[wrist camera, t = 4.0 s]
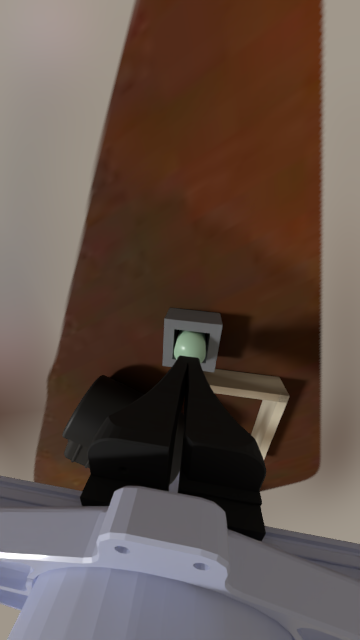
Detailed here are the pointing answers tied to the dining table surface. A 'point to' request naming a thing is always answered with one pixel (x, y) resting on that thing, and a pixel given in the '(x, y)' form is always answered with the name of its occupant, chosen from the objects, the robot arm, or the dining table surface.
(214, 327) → the button housing
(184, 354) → the button
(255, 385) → the cream square frame
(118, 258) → the dining table surface
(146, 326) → the dining table surface
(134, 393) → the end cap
